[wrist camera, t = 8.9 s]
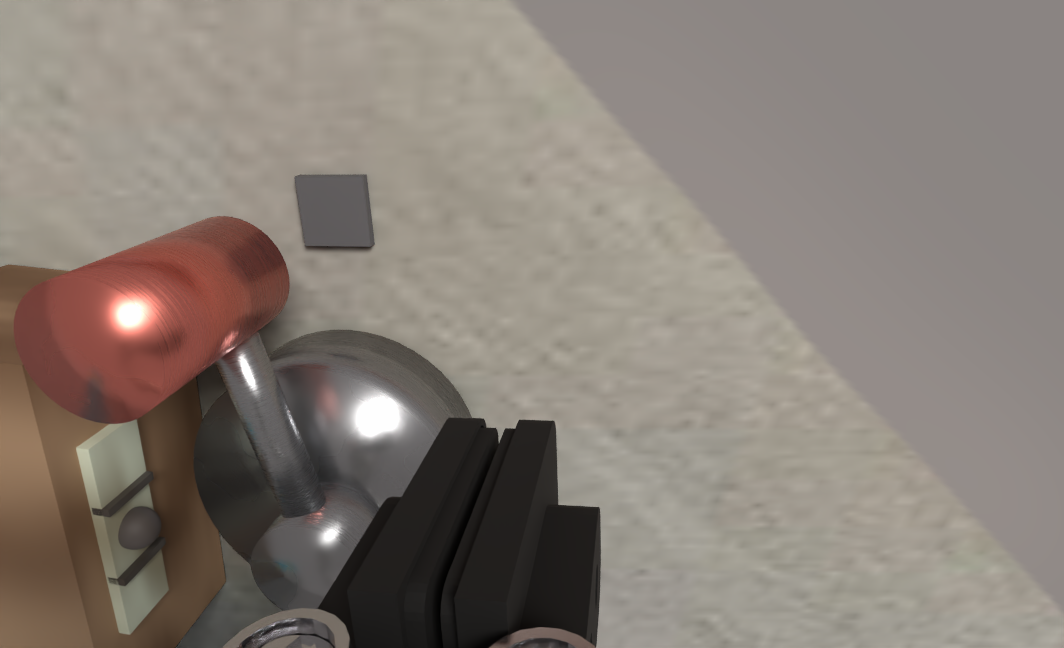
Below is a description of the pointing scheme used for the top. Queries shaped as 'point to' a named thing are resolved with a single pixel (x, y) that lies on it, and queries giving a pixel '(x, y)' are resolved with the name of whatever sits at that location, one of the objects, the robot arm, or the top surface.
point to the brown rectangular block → (97, 514)
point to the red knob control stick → (243, 393)
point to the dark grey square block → (335, 210)
